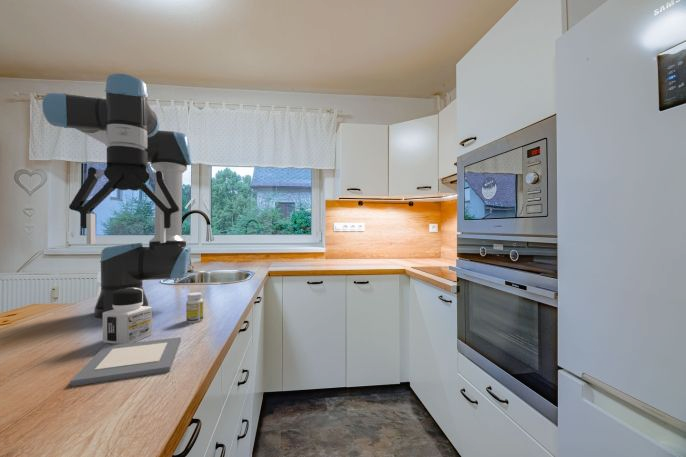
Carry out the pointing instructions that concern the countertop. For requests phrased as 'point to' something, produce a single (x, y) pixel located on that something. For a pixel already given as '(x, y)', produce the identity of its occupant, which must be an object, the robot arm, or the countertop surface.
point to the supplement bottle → (194, 307)
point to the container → (127, 318)
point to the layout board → (129, 361)
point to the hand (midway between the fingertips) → (128, 243)
